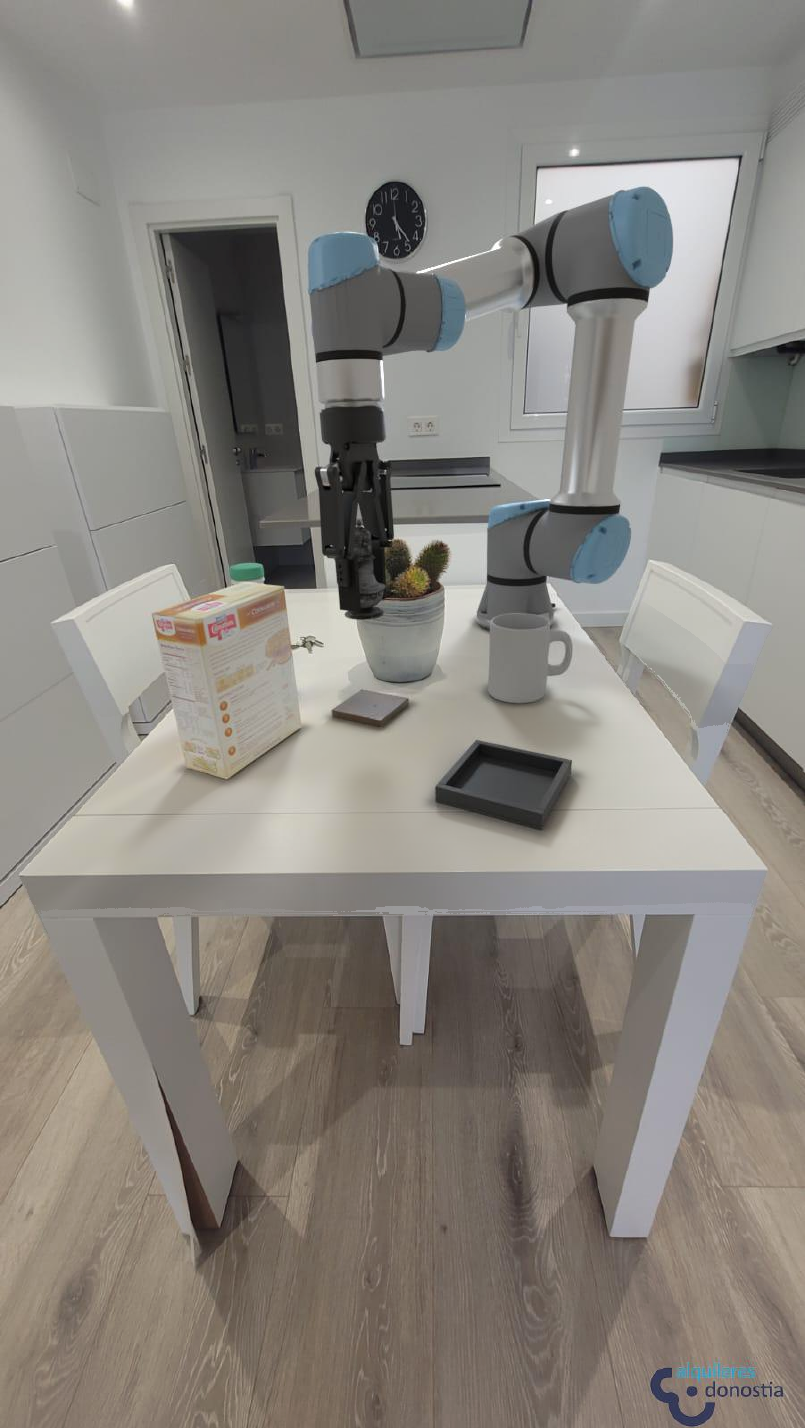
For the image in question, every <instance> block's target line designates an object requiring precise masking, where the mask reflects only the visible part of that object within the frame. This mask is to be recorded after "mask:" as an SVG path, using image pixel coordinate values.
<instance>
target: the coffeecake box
mask: <svg viewBox="0 0 805 1428" xmlns="http://www.w3.org/2000/svg"><path fill="white" fill-rule="evenodd" d="M150 615H151V618H152V622H153V627H154V631H155V636H156V639H157V644H158V648H159V652H160V657H161V661H162V665H163V666H162V667H163V670H164V675H165V680H166V683H167V687H168V692H169V696H170V700H171V705H172V710H173V714H174V719H175V722H176V727H177V731H178V735H179V741H180V745H181V749H182V754H183V757H184V758H183V759H184V762H185V767H186V768H187V769H189V770H194V771H197V772H200V773H205V774H209V775H211V776H215V777H218V778H221V779H224V780H229V779H230V778H231V777H232V776H234V775H236V774H237V773H238V772H240V771H241V770H243V769H244V768H245V767H246V766H249V764H251V763H252V762H254V761H255V760H257V759H258V758H260V757H261V756H262V755H264V754H265V753H266V752H268V751H269V750H271V749H272V748H274V747H275V746H276V745H278V744H279V743H281V742H282V741H284V740H285V739H287V738H288V737H289V736H291V735H292V734H294V733H295V732H297V731H299V729H301V728H302V727H303V726H302V719H301V710H300V704H299V703H300V701H299V695H298V688H297V679H296V671H295V664H294V663H295V662H294V655H293V650H292V649H293V648H292V640H291V632H290V624H289V615H288V609H287V600H286V592H285V586H284V585H277V584H276V585H275V584H274V585H273V584H265V583H264V584H260V583H256V582H241V583H238V584H235V585H233V584H232V585H230V586H227V587H225V588H221V589H218V590H215V591H213V592H209V593H207V594H204V595H201V596H198V597H195V598H192V599H189V600H186V601H183V602H181V603H178V604H175V605H171V606H168V607H166V608H163V609H159V610H157V611H154V612H151V614H150Z"/></svg>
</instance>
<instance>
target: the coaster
mask: <svg viewBox="0 0 805 1428" xmlns="http://www.w3.org/2000/svg"><path fill="white" fill-rule="evenodd" d="M409 704H410V703H409V697H405V696H398V695H393V694H388V693H384V692H383V693H382V692H378V691H372V690H367V689H363V688H362V689H360V690H359V691H357V692H356V693H354V694H353V695H351V696H350V697H348V698H347V699H346V700H344V701H343V702H341V703H340V704H339V705H337V706H335V707H334V708H332V709H331V716H332V717H334V718H339V719H342V720H348V721H352V722H357V723H360V724H365V725H369V726H375V727H380V728H382V727H383V726H384V725H386V724H387V723H388V722H389V721H391V719H394V717H395V716H397V715H398V714H399V713H400V712H401V711H403V710H404V709H405V708H406V707H407V706H409Z"/></svg>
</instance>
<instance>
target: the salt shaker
mask: <svg viewBox="0 0 805 1428" xmlns="http://www.w3.org/2000/svg"><path fill="white" fill-rule="evenodd" d="M353 558H358V571H359V587H360V602H361V611H359V612H354V611H345V613H344V616H345V618H347V619H350V620H357V621H359V620H360V621H365V620H373V619H374V620H375V619H378V618H381V617H382V616H383V617H384V615H385V611H384V610H383V609H382V608H381V607H379V606H378V605H379V603H380V602H381V601H382V600H383V599H382V596H383V590H384V589H385V585H384V584H382V583H378V582H377V581H376V579H375V576H374V573H373V559H374V558H375V556H373V555H372V548H371V534H370V532H369V530H367V529H366V528H364V526H363V525H362V522H361V520H360V519H358V520H356V530H355V541H354V552H353Z"/></svg>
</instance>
